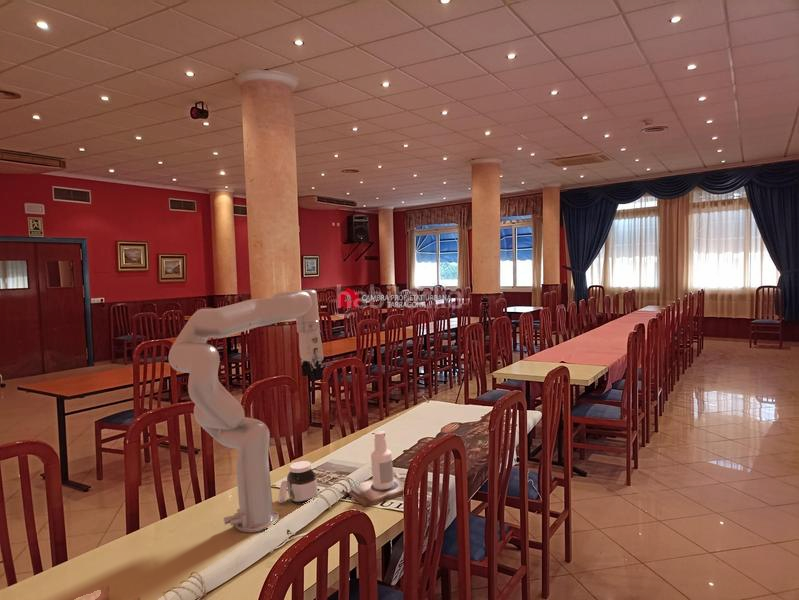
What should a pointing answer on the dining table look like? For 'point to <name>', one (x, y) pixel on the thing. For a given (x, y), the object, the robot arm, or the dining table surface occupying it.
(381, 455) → the spray bottle
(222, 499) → the dining table surface
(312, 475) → the spread jar
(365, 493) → the square pad with disc
